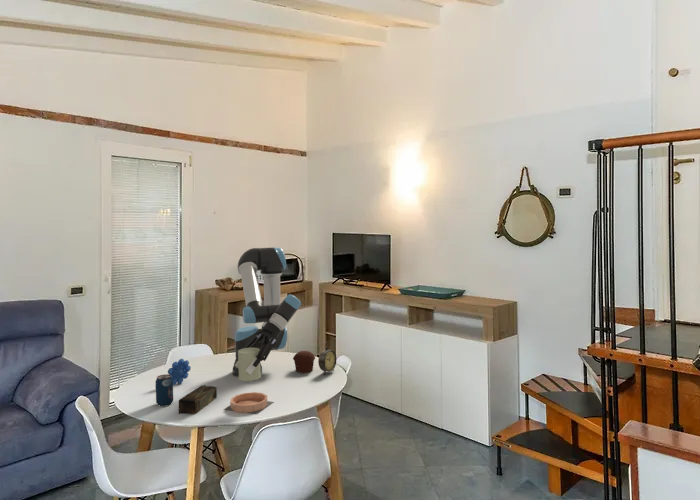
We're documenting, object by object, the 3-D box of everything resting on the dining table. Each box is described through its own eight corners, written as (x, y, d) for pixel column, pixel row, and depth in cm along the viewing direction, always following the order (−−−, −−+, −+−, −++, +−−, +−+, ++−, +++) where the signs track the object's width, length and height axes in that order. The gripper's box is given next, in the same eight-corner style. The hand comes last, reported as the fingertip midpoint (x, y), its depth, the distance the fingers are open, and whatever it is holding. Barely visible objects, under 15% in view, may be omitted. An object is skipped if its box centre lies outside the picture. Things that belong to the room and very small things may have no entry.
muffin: (316, 367, 252) (315, 348, 252) (315, 373, 241) (314, 354, 241) (293, 367, 252) (293, 349, 251) (292, 374, 241) (291, 354, 240)
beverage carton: (217, 399, 207) (217, 384, 207) (195, 416, 189) (195, 400, 188) (201, 398, 209) (200, 383, 209) (177, 415, 190) (177, 399, 190)
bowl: (223, 410, 192) (223, 403, 192) (243, 397, 207) (243, 390, 206) (255, 414, 187) (255, 407, 187) (273, 401, 201) (273, 394, 201)
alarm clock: (325, 376, 236) (324, 344, 235) (316, 374, 239) (316, 343, 238) (337, 370, 245) (336, 340, 245) (328, 369, 248) (328, 338, 247)
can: (255, 381, 191) (255, 352, 191) (234, 380, 193) (233, 351, 192) (264, 374, 200) (263, 346, 200) (243, 373, 202) (243, 346, 201)
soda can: (173, 405, 200) (172, 377, 200) (156, 407, 198) (154, 379, 197) (173, 399, 207) (172, 373, 206) (156, 402, 204) (155, 375, 204)
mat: (223, 411, 193) (223, 409, 193) (242, 399, 206) (242, 397, 206) (257, 415, 188) (257, 414, 188) (274, 403, 201) (274, 402, 201)
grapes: (187, 378, 236) (186, 355, 235) (193, 381, 231) (192, 357, 230) (164, 384, 228) (163, 360, 227) (169, 387, 223) (169, 362, 222)
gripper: (256, 317, 210) (224, 359, 201) (282, 324, 194) (249, 370, 184) (267, 327, 214) (236, 369, 204) (293, 335, 197) (261, 381, 188)
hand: (242, 370), depth 194 cm, fingers closed on can, 9 cm apart
